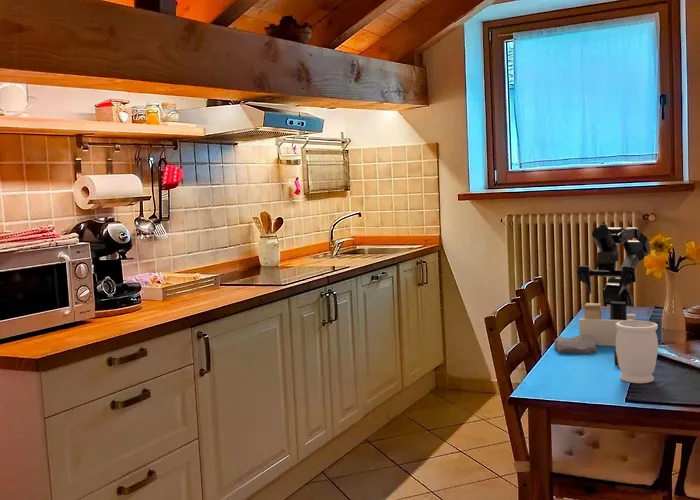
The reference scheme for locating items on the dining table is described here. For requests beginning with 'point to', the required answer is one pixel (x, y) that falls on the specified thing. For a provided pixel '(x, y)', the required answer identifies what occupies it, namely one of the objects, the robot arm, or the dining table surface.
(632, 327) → the jar
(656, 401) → the dining table surface
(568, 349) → the stone block
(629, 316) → the hinge post
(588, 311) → the block
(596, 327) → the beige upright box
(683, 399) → the dining table surface
